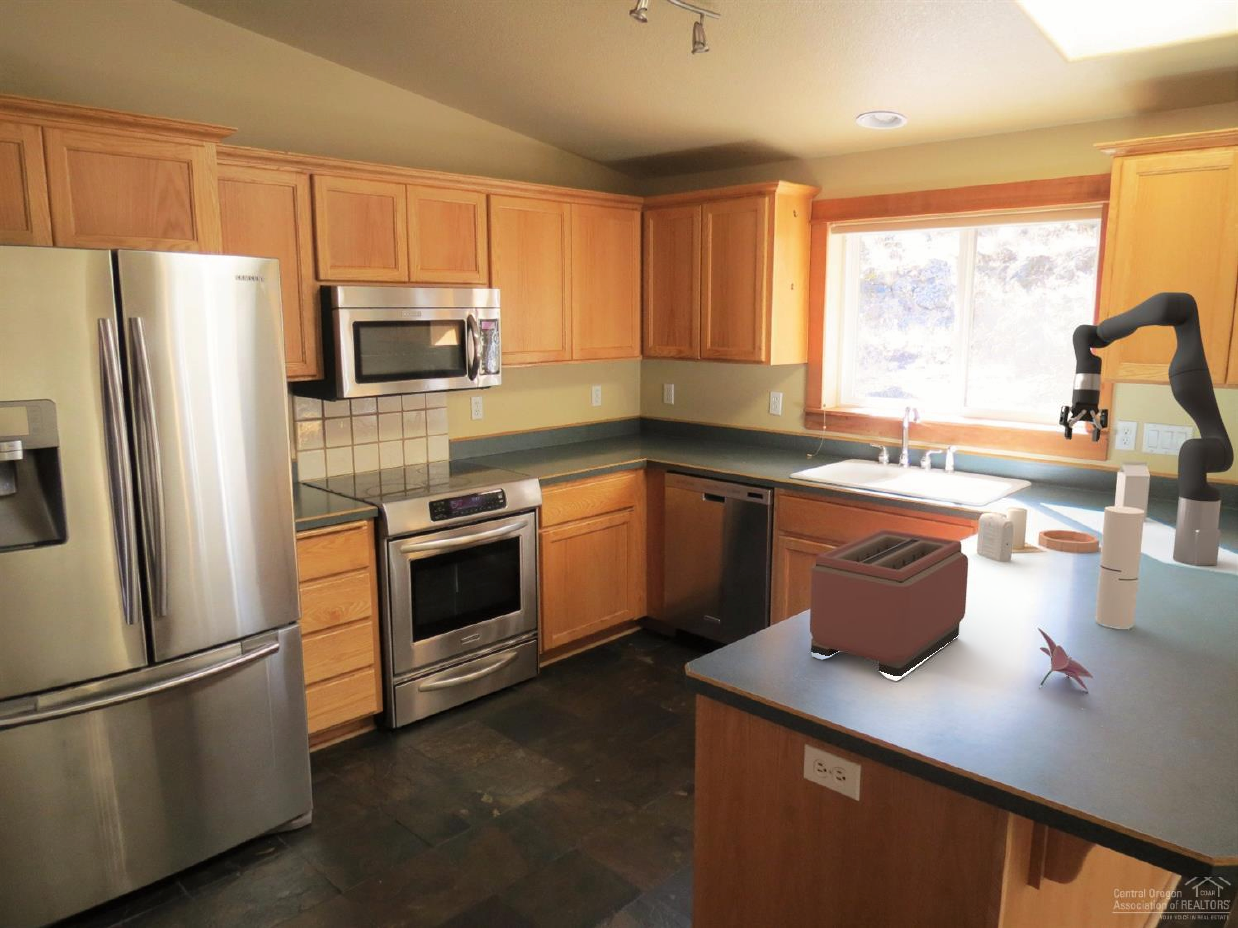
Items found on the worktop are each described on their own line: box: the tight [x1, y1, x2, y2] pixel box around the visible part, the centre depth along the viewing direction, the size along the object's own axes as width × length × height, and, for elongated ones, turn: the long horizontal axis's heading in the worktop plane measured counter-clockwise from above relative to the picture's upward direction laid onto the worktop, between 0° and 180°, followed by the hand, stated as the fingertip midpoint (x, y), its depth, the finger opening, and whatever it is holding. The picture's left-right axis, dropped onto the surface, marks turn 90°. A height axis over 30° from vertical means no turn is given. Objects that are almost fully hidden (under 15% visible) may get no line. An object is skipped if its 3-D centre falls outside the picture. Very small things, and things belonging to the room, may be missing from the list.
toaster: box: [809, 528, 969, 676], centre depth 169 cm, size 19×36×21 cm, turn 138°
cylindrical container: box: [1094, 505, 1145, 628], centre depth 178 cm, size 7×7×25 cm
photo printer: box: [976, 512, 1014, 563], centre depth 231 cm, size 10×4×12 cm, turn 17°
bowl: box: [1037, 529, 1100, 554], centre depth 242 cm, size 15×15×3 cm
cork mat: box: [1012, 541, 1047, 554], centre depth 241 cm, size 12×12×1 cm
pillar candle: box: [1005, 507, 1028, 549], centre depth 240 cm, size 5×5×11 cm
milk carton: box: [1114, 461, 1151, 522], centre depth 274 cm, size 7×7×19 cm
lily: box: [1037, 627, 1094, 691], centre depth 149 cm, size 12×12×10 cm
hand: (1081, 440), depth 265 cm, fingers open, 8 cm apart
